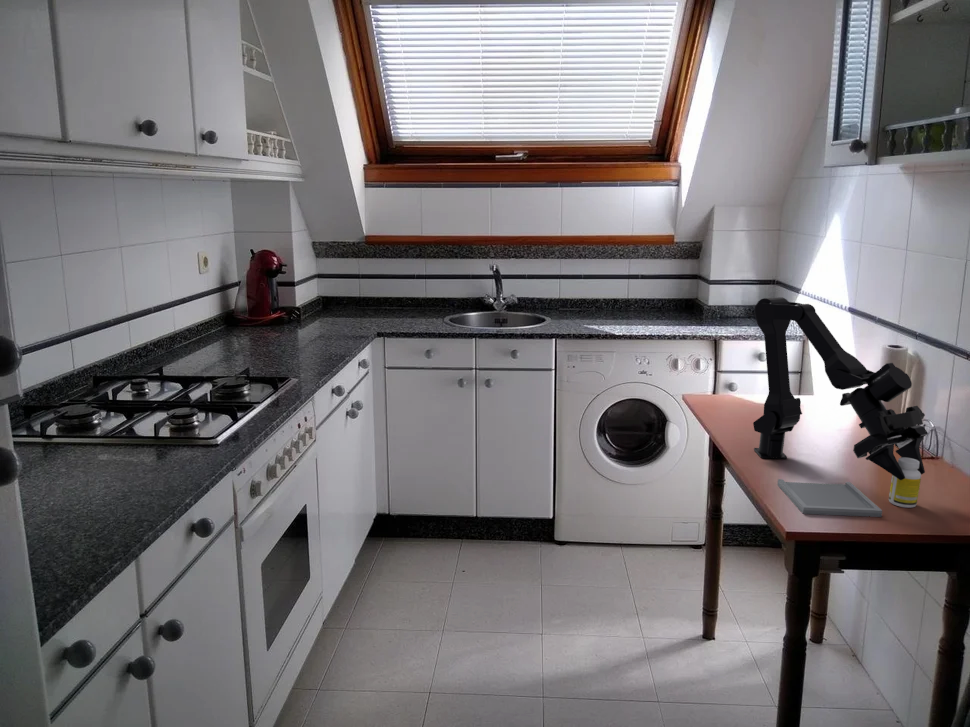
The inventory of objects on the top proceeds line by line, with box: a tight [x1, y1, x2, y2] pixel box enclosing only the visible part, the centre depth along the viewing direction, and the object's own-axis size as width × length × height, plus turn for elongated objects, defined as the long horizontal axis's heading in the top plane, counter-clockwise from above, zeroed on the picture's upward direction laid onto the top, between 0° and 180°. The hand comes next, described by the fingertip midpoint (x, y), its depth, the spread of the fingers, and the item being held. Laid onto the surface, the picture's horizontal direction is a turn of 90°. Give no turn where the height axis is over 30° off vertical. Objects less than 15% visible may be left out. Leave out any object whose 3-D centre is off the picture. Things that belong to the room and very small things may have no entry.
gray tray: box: [777, 478, 883, 518], centre depth 171 cm, size 16×16×1 cm
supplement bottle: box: [888, 456, 922, 509], centre depth 170 cm, size 5×5×10 cm
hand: (913, 476), depth 168 cm, fingers open, 7 cm apart
